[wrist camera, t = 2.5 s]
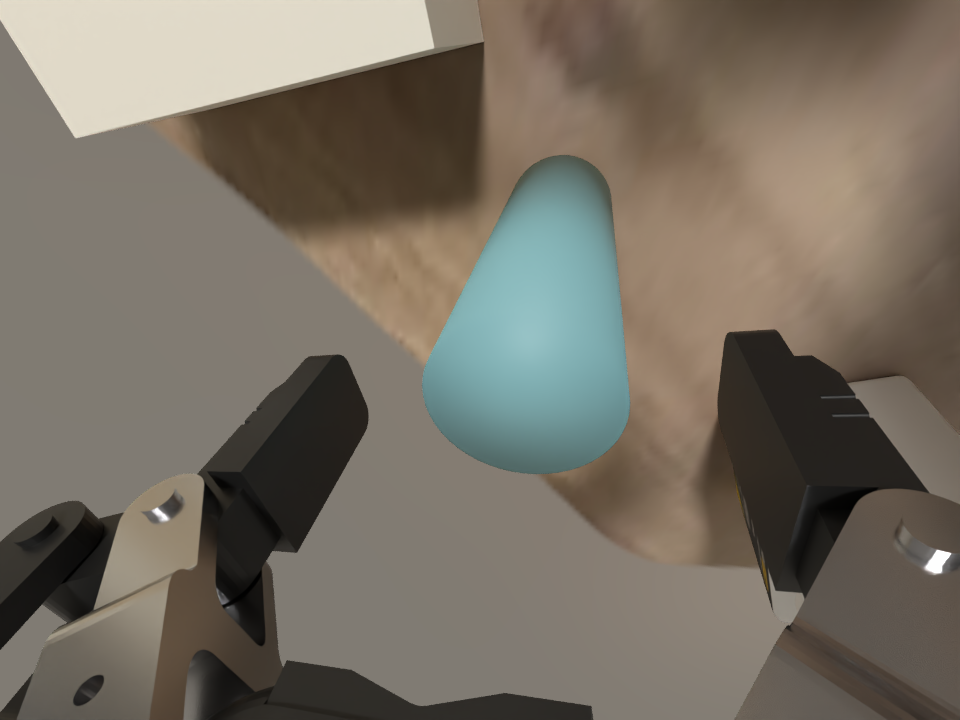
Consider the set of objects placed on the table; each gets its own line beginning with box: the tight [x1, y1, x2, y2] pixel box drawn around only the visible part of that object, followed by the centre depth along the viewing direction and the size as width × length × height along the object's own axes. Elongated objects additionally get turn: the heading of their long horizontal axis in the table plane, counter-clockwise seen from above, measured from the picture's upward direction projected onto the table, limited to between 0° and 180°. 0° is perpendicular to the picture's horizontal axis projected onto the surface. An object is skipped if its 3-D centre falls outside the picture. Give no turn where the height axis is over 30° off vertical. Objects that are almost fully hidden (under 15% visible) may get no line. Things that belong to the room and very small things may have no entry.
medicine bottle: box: [733, 376, 960, 623], centre depth 18 cm, size 7×7×12 cm
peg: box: [422, 155, 630, 474], centre depth 13 cm, size 4×4×12 cm
